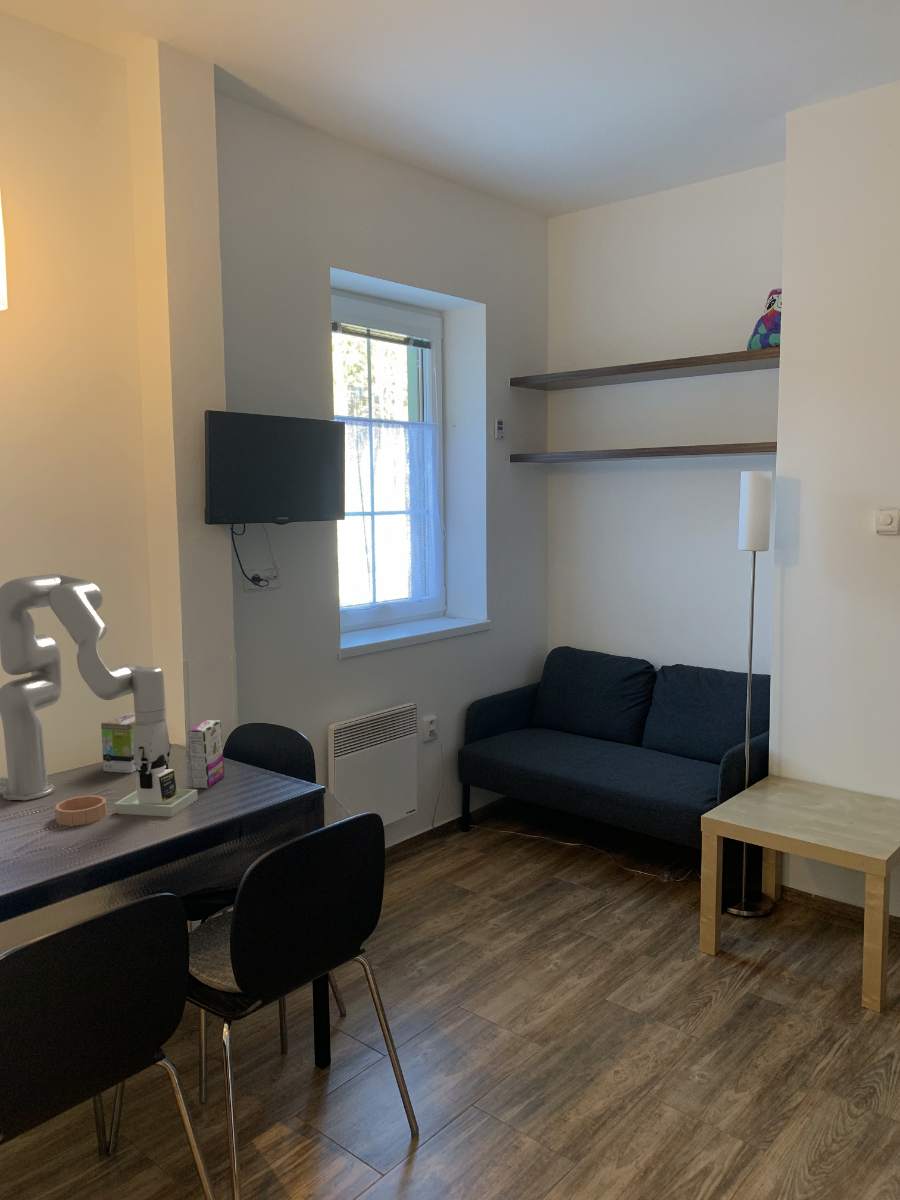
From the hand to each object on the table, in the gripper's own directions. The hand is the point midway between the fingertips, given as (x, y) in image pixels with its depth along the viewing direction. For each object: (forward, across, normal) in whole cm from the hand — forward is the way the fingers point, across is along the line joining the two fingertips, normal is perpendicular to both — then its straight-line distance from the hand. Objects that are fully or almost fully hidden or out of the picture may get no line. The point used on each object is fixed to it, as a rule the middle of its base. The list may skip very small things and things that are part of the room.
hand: (154, 782), depth 233 cm
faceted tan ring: (+6, +10, -15) cm, 19 cm away
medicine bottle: (+5, 0, +1) cm, 5 cm away
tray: (+6, 0, 0) cm, 6 cm away
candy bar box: (+6, -20, +4) cm, 21 cm away
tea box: (+7, -32, -27) cm, 42 cm away
